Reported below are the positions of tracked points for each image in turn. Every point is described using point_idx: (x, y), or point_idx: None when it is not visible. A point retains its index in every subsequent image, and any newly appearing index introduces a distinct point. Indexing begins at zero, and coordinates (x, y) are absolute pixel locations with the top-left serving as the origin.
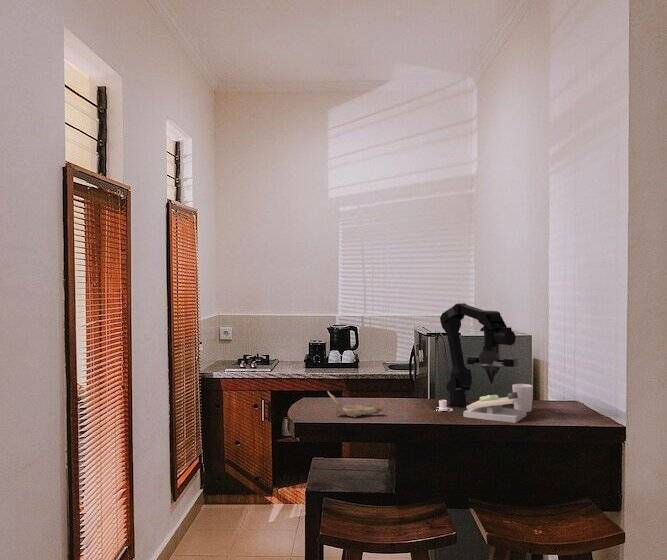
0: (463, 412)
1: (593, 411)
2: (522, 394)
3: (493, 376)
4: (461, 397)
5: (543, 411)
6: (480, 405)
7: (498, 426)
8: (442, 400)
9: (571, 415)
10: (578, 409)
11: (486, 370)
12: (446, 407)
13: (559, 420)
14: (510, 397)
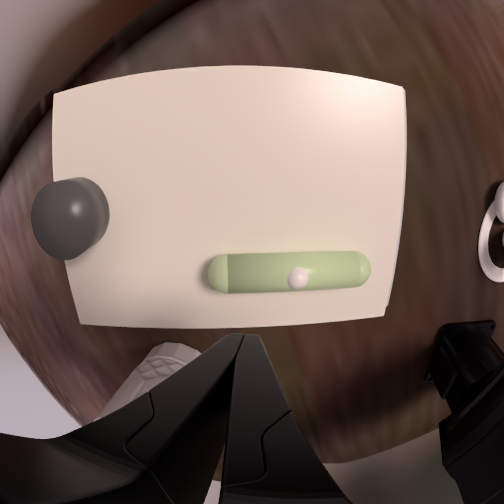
0: (403, 91)
1: (51, 389)
2: (129, 390)
3: (171, 384)
4: (467, 360)
5: (120, 370)
6: (297, 71)
7: (161, 3)
8: None
9: (46, 334)
10: (79, 406)
11: (314, 497)
12: (501, 280)
13: (30, 248)
14: (76, 178)
